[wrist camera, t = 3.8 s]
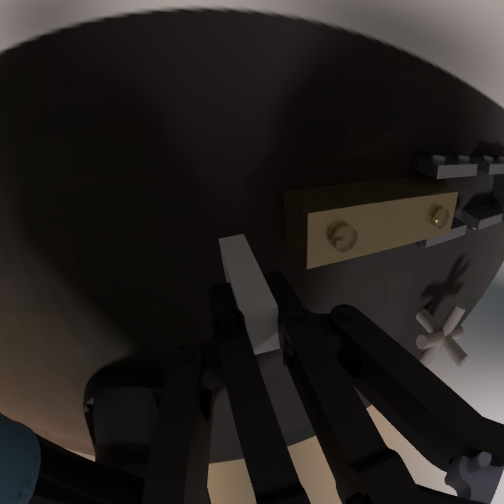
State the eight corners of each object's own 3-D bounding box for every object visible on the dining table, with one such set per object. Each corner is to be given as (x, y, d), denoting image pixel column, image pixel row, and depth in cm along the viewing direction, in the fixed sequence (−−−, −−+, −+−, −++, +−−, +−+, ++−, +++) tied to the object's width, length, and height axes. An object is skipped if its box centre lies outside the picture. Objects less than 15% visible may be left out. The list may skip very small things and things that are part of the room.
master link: (283, 238, 22) (310, 274, 18) (282, 190, 20) (312, 217, 16) (419, 213, 25) (454, 235, 21) (424, 175, 23) (462, 194, 19)
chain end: (404, 238, 26) (423, 253, 23) (415, 150, 21) (438, 158, 18) (445, 227, 27) (463, 239, 24) (456, 150, 22) (478, 158, 20)
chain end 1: (459, 223, 27) (485, 240, 24) (470, 150, 23) (501, 163, 19) (491, 214, 29) (513, 227, 25) (501, 153, 24) (526, 163, 20)
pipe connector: (416, 284, 30) (468, 336, 22) (453, 283, 33) (497, 325, 25) (382, 344, 34) (420, 397, 26) (423, 335, 38) (458, 378, 29)
